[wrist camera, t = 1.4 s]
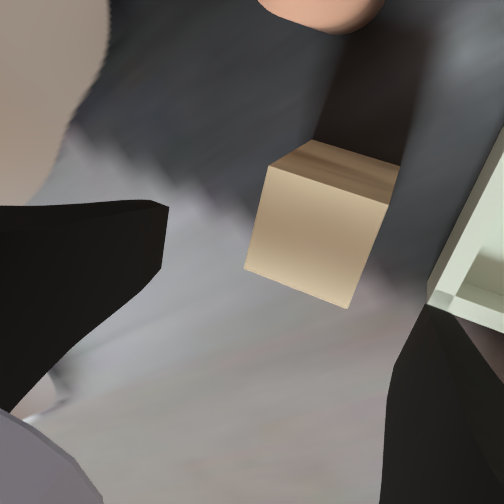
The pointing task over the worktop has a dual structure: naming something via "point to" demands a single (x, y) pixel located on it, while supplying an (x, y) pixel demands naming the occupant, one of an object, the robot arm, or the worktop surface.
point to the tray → (475, 252)
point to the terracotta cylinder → (327, 13)
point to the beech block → (320, 219)
